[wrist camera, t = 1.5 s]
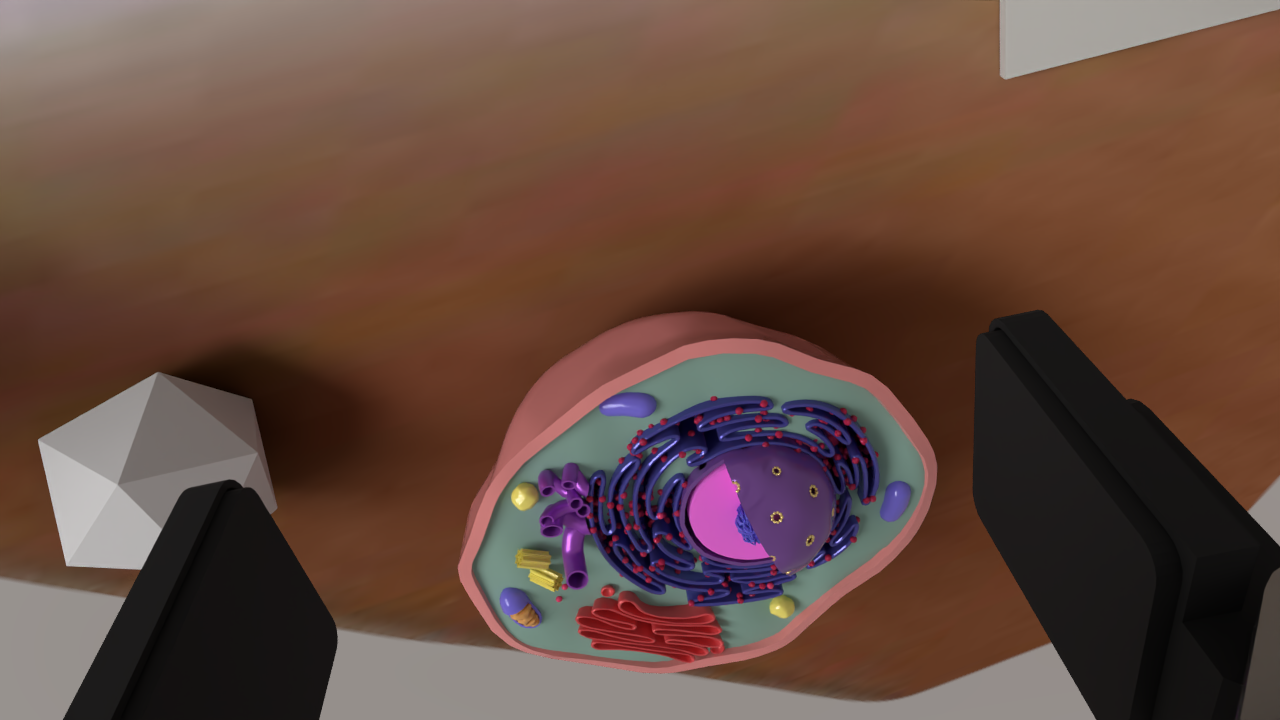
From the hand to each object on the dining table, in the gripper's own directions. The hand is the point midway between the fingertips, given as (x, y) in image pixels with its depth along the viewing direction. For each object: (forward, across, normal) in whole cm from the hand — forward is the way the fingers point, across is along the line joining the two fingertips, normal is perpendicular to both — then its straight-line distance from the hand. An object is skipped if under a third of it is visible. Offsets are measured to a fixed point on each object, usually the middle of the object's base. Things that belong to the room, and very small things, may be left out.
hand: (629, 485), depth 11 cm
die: (+25, +21, +13) cm, 35 cm away
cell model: (+25, 0, +18) cm, 31 cm away
